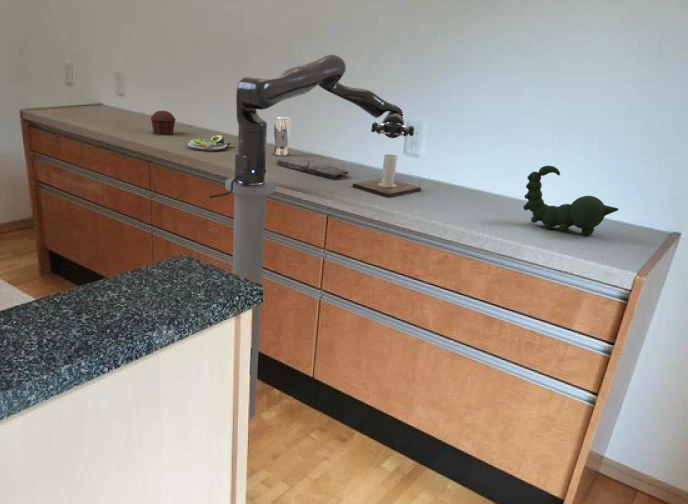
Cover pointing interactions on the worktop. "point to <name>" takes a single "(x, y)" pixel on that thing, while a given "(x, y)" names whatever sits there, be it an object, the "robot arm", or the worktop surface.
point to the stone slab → (312, 167)
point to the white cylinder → (389, 170)
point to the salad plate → (209, 144)
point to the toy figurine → (564, 207)
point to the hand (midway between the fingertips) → (392, 132)
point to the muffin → (163, 123)
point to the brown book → (386, 188)
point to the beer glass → (282, 135)
